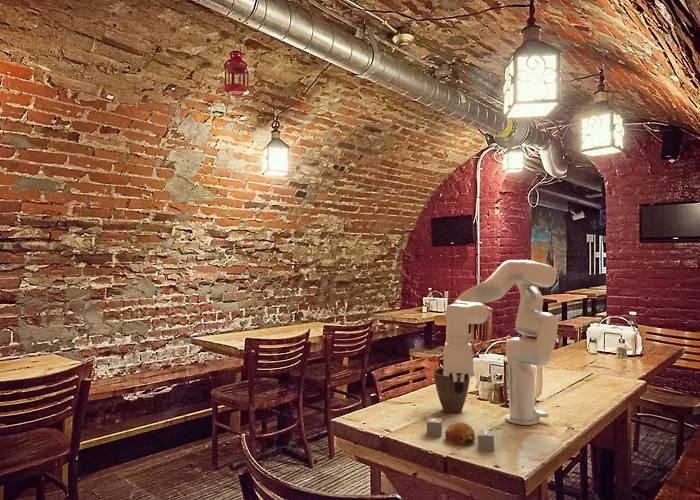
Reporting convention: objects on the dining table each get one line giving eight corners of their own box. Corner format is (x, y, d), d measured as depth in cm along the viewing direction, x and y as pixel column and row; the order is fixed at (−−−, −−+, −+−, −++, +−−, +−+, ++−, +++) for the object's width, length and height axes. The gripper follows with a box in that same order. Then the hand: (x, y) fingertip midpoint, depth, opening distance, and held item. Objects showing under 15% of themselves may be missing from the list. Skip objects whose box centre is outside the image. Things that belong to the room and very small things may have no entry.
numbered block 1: (494, 446, 177) (493, 430, 177) (494, 451, 172) (493, 435, 172) (478, 445, 178) (478, 429, 178) (478, 450, 173) (477, 434, 173)
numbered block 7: (442, 432, 191) (442, 418, 191) (441, 437, 186) (440, 422, 186) (428, 431, 192) (428, 417, 192) (426, 436, 187) (426, 421, 187)
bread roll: (472, 447, 186) (469, 423, 189) (479, 444, 176) (476, 419, 180) (444, 448, 185) (442, 424, 189) (450, 445, 176) (447, 420, 180)
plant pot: (471, 417, 208) (470, 376, 208) (433, 415, 211) (432, 375, 211) (470, 406, 223) (469, 368, 223) (434, 404, 226) (434, 367, 226)
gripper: (480, 338, 185) (481, 391, 185) (437, 337, 189) (438, 389, 189) (479, 342, 178) (481, 396, 178) (434, 341, 182) (436, 394, 182)
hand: (459, 392), depth 183 cm, fingers closed
